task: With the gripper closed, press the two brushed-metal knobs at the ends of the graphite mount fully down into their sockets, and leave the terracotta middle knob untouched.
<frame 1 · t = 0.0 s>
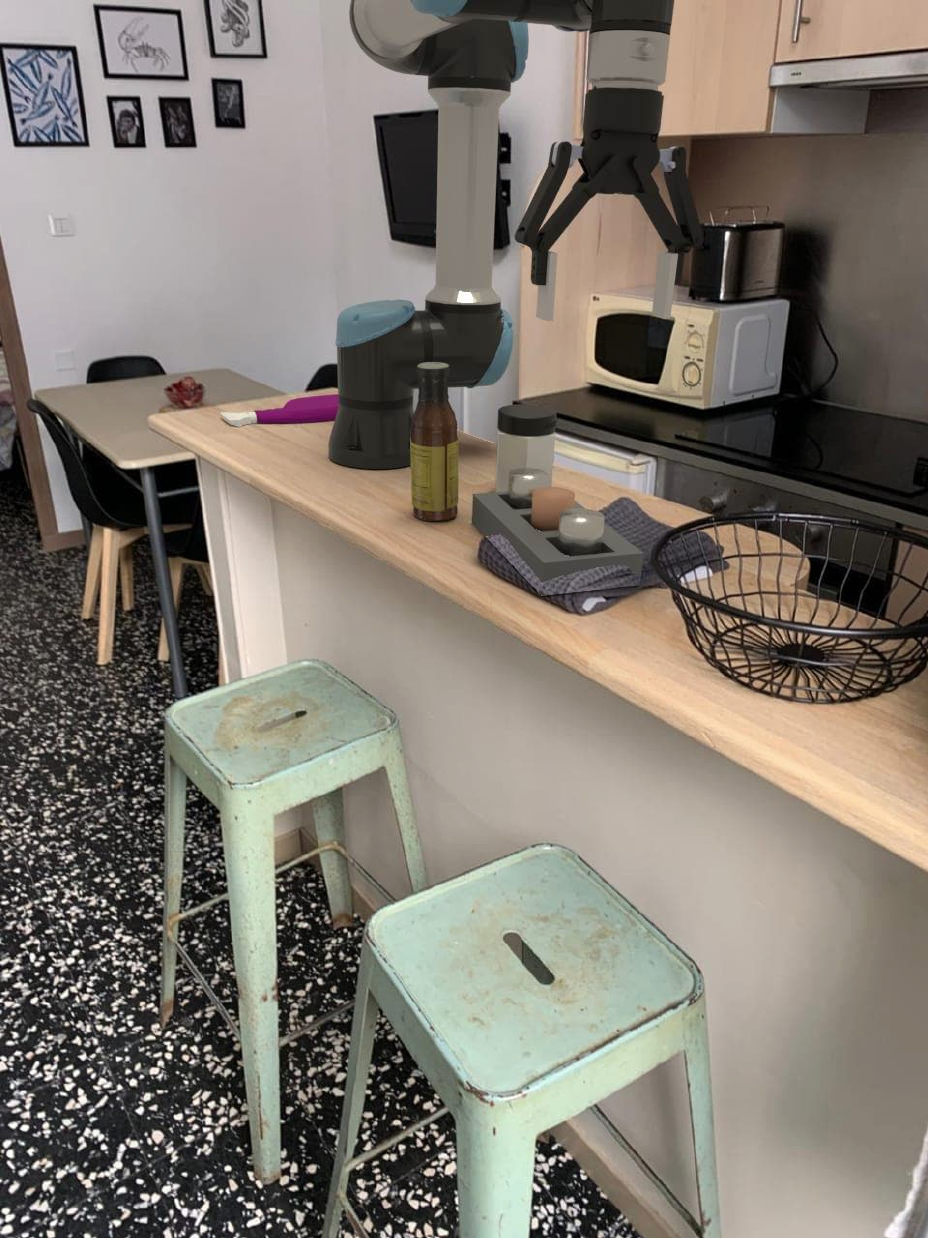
hand: (603, 318, 99), 28 cm above the table, fingers open, 13 cm apart
jar: (522, 495, 134), on the table
knob 1: (528, 488, 118), point 5 cm above the table, slide at 0.0 cm
middle knob: (552, 509, 112), point 5 cm above the table, slide at 0.0 cm
knob 2: (580, 532, 105), point 5 cm above the table, slide at 0.0 cm
knob mount: (549, 552, 114), on the table
spray bottle: (293, 420, 171), on the table
sauce bottle: (433, 517, 125), on the table
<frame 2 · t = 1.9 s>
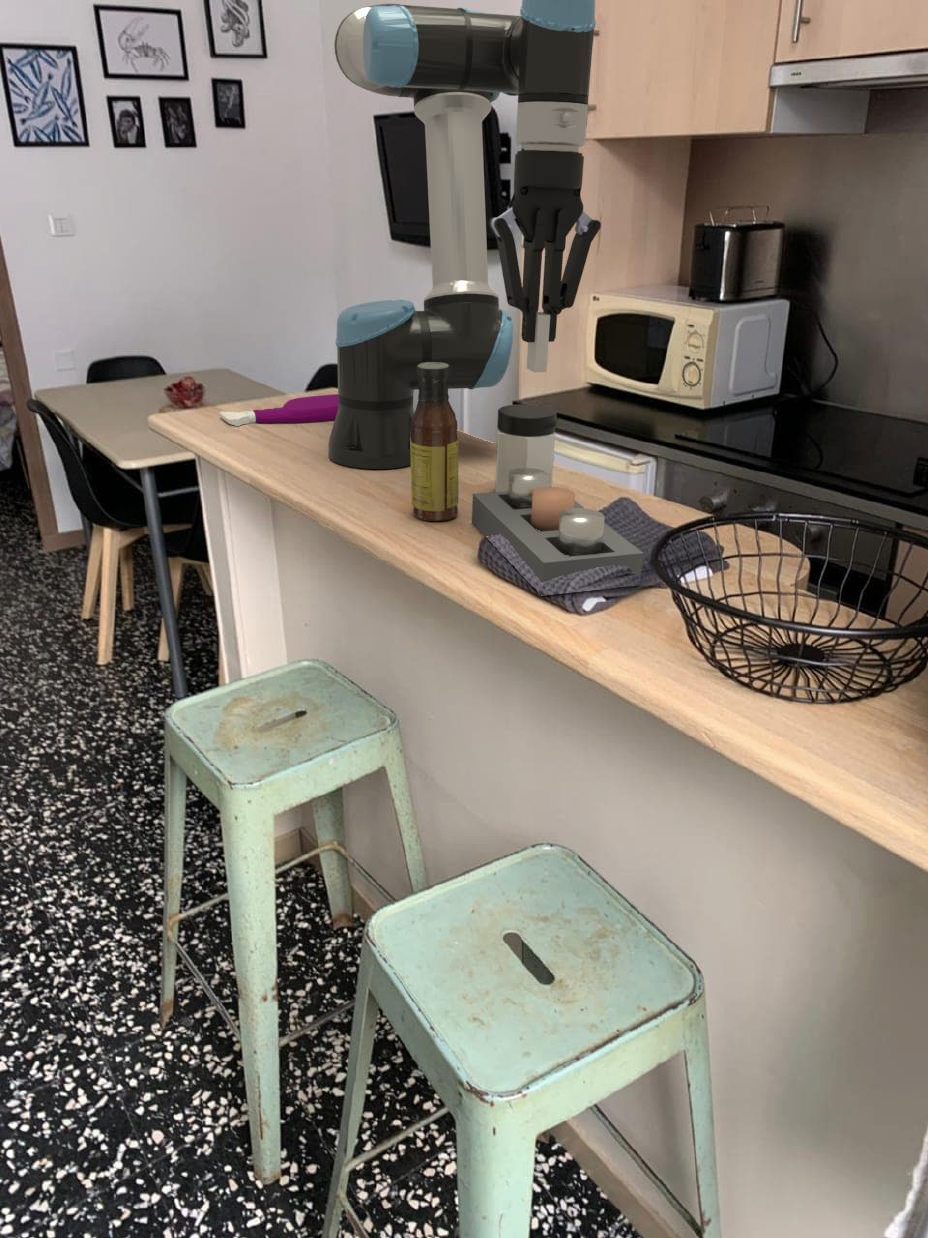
hand: (536, 369, 112), 20 cm above the table, fingers closed
nothing on the table moved.
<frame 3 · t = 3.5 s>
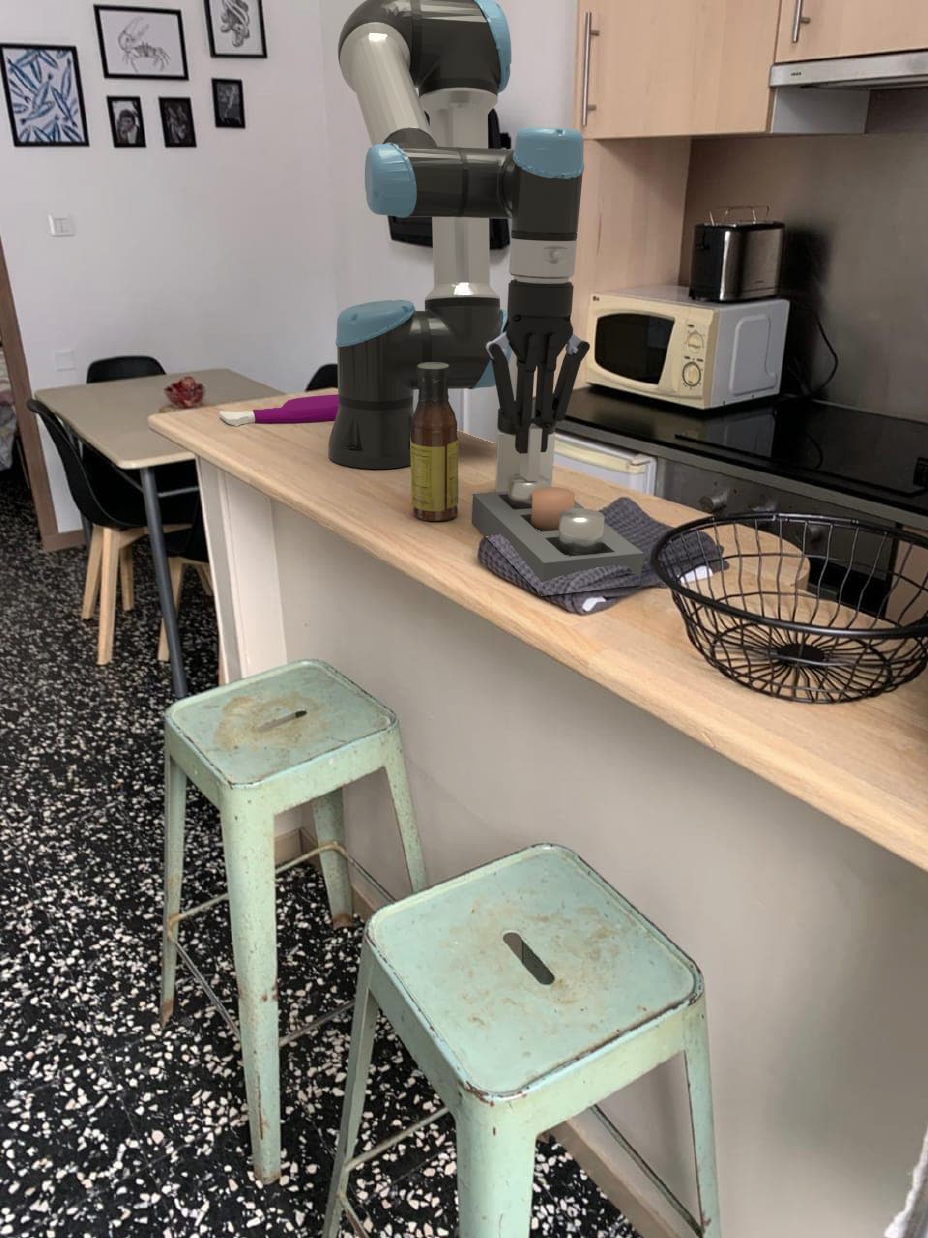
hand: (529, 477, 118), 7 cm above the table, fingers closed
knob 1: (527, 494, 119), point 5 cm above the table, slide at 0.7 cm, touching gripper
everything else where it was.
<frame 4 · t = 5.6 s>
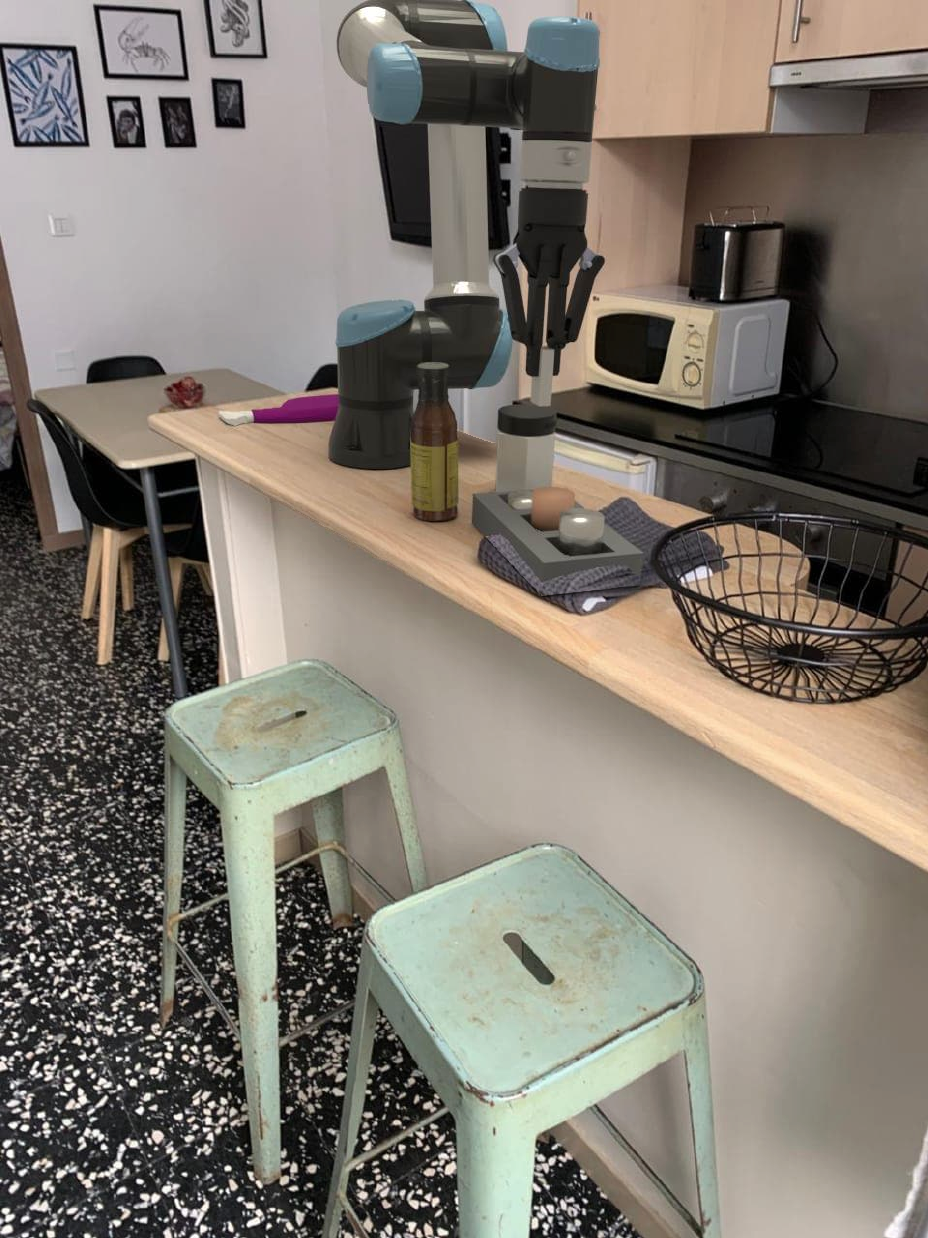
hand: (540, 403, 112), 17 cm above the table, fingers closed
knob 1: (526, 511, 120), point 2 cm above the table, slide at 3.1 cm
everything else where it was.
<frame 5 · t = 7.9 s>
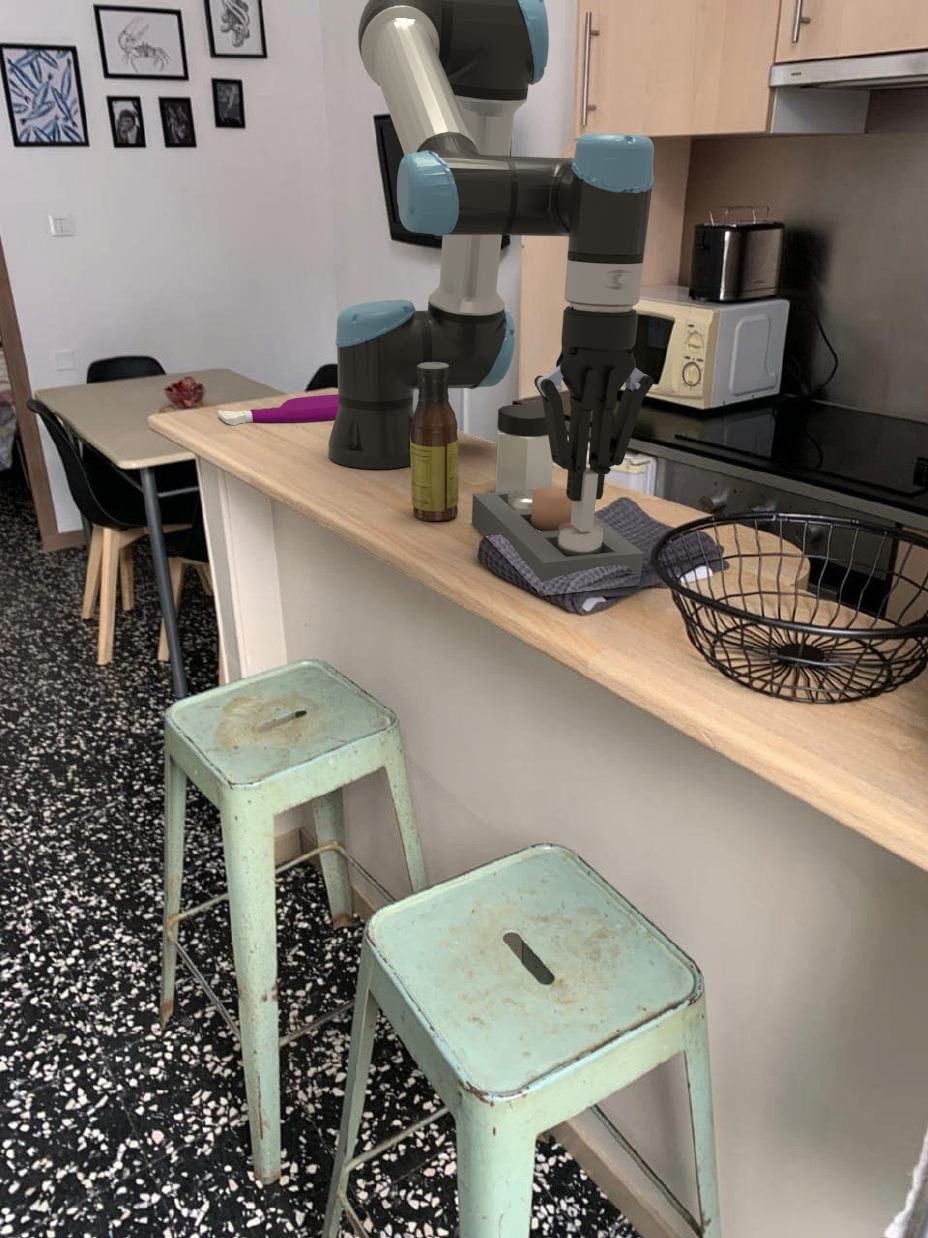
hand: (581, 527, 104), 6 cm above the table, fingers closed
knob 2: (579, 545, 105), point 4 cm above the table, slide at 1.6 cm, touching gripper
everything else where it was.
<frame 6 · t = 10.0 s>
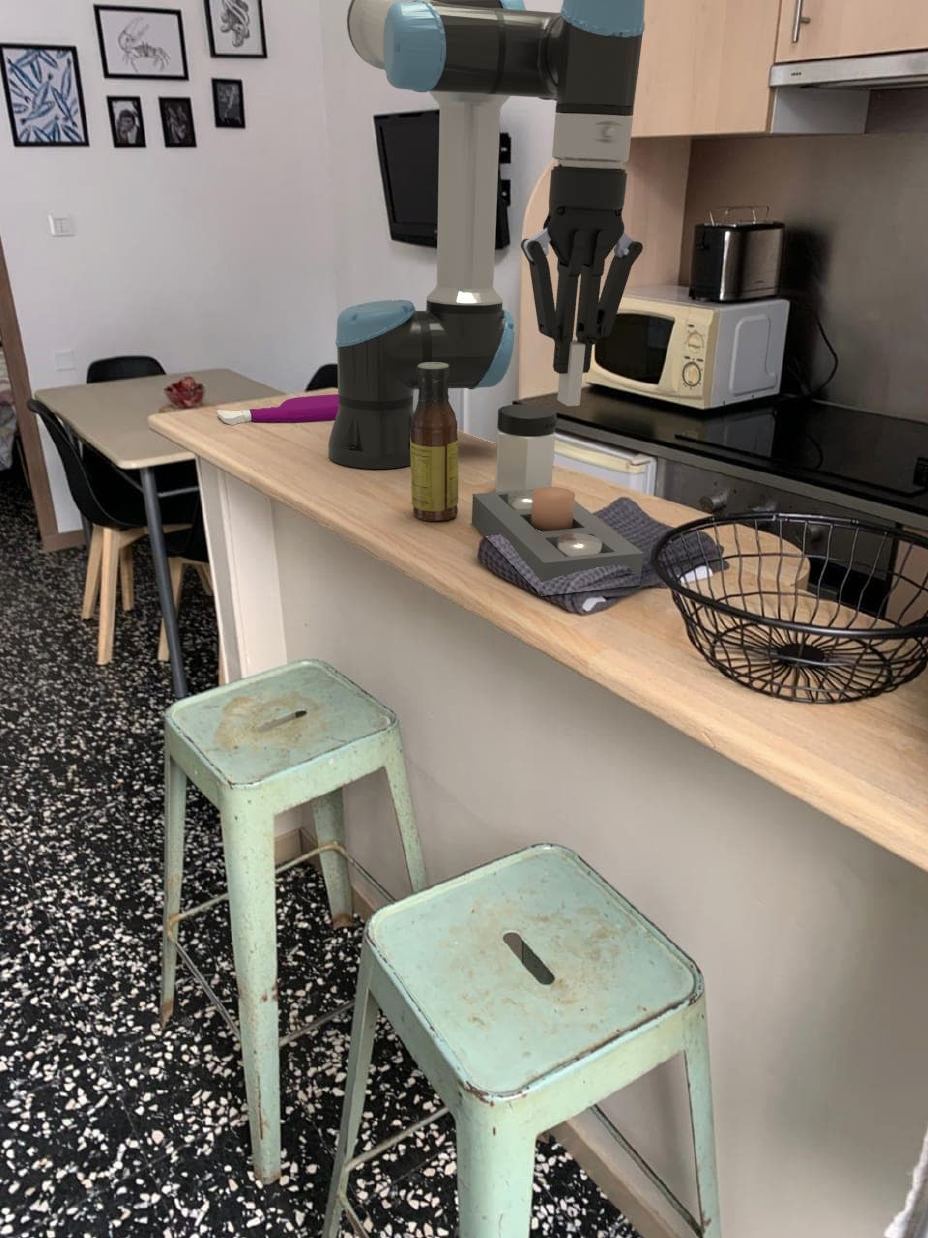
hand: (568, 402, 103), 19 cm above the table, fingers closed
knob 2: (578, 557, 106), point 2 cm above the table, slide at 3.0 cm
everything else where it was.
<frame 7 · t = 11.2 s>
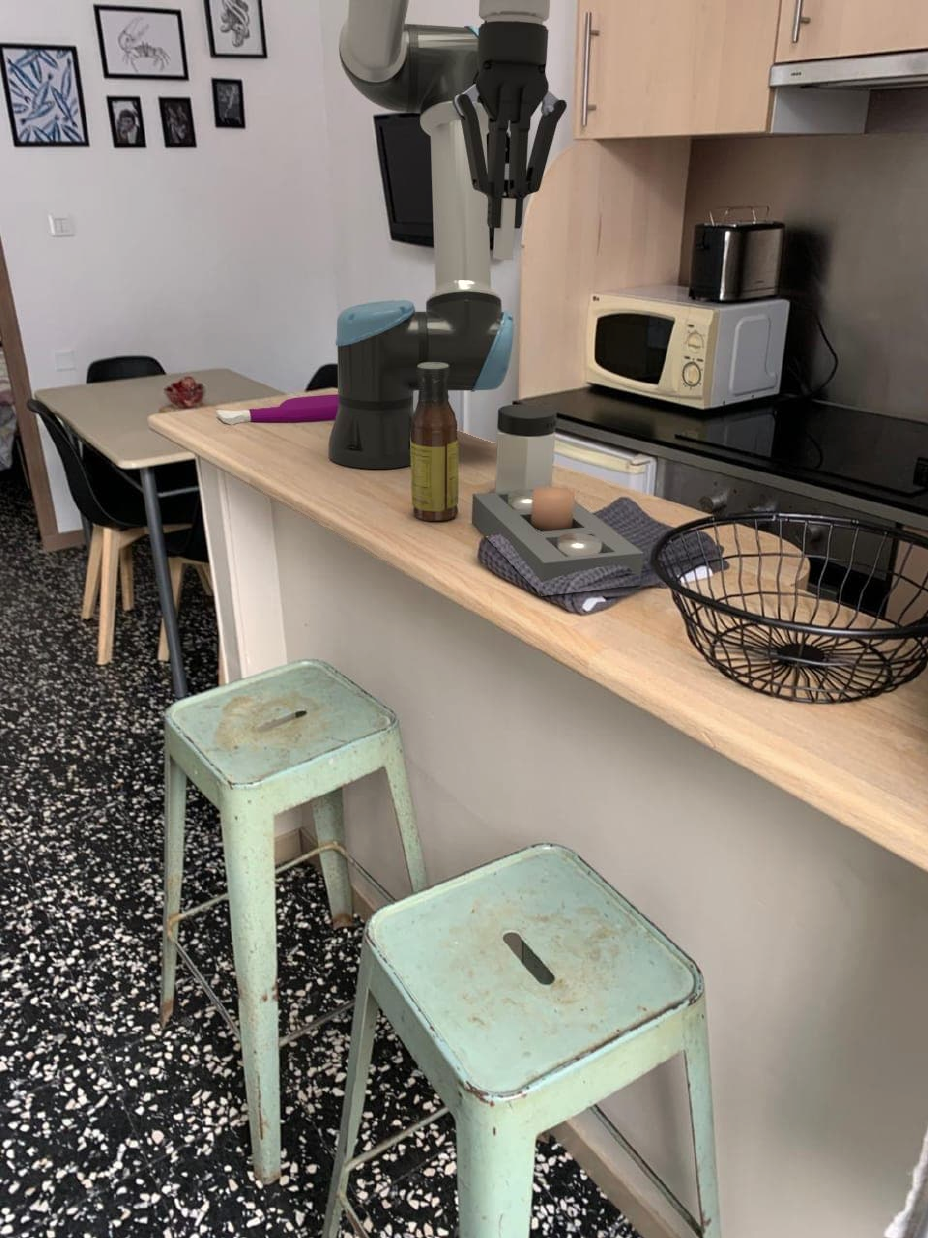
hand: (502, 258, 110), 32 cm above the table, fingers closed
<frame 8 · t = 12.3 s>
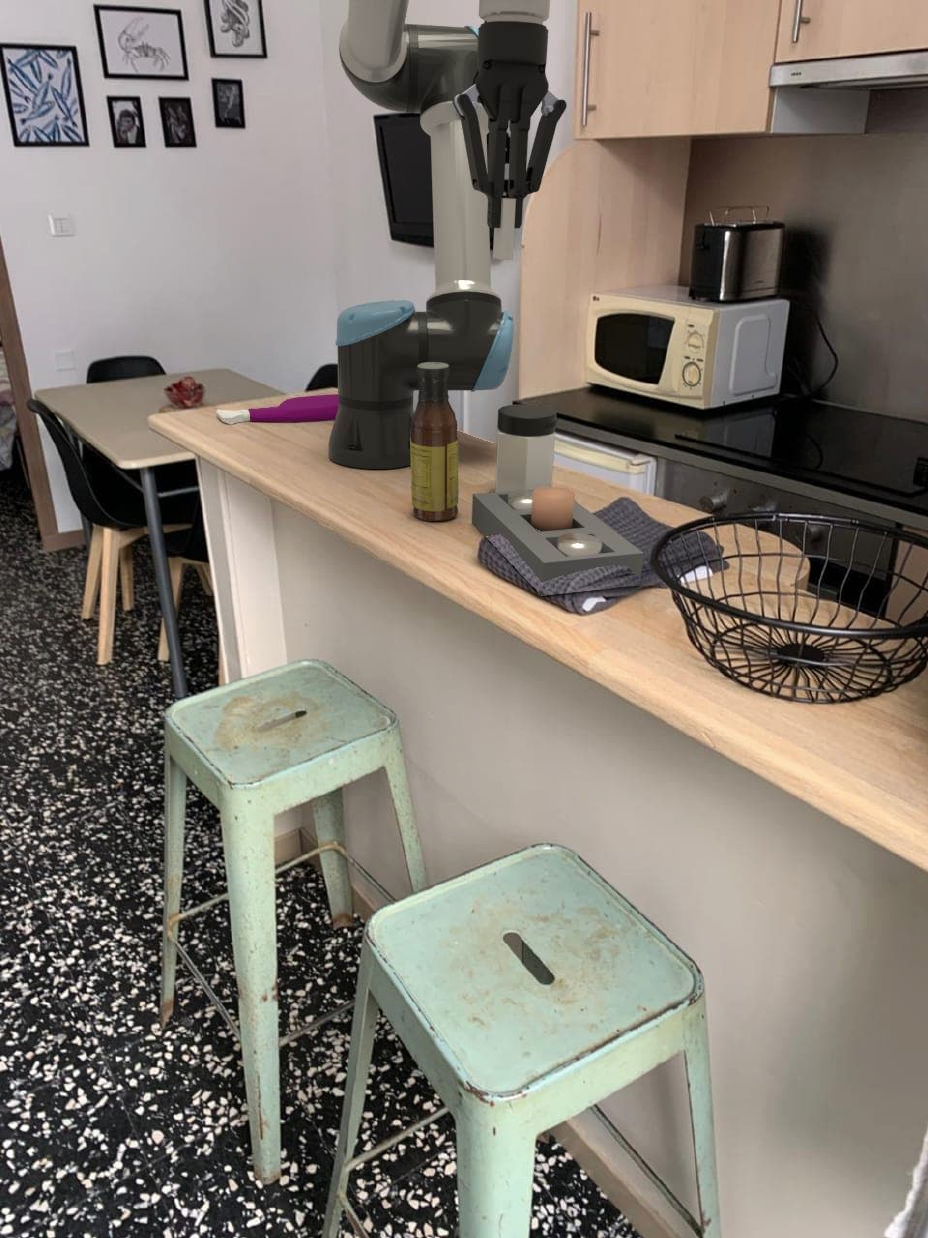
hand: (502, 258, 110), 32 cm above the table, fingers closed
at the end: knob 1 slide at 3.1 cm; knob 2 slide at 3.0 cm; middle knob slide at 0.0 cm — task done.
